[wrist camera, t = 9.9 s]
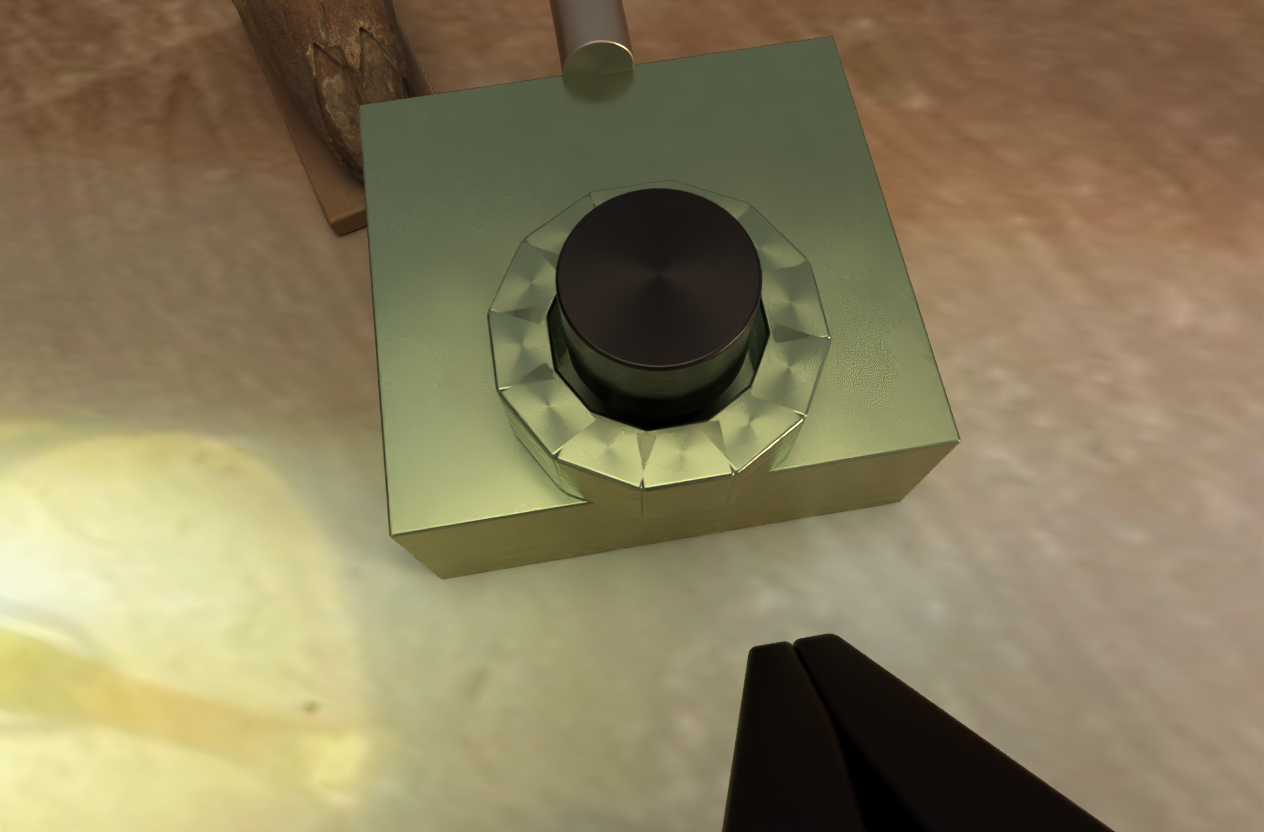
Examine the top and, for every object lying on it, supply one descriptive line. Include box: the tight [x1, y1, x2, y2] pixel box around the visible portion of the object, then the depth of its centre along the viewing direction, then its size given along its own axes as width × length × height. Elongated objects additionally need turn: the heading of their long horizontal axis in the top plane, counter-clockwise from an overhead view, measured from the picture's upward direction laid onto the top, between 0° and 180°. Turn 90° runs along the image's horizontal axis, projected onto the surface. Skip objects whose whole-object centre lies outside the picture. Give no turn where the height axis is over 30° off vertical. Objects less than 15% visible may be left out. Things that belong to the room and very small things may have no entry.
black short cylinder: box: [555, 188, 762, 418], centre depth 17 cm, size 4×4×2 cm
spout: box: [550, 0, 635, 80], centre depth 23 cm, size 4×2×2 cm, turn 10°
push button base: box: [358, 36, 960, 579], centre depth 21 cm, size 12×12×7 cm
